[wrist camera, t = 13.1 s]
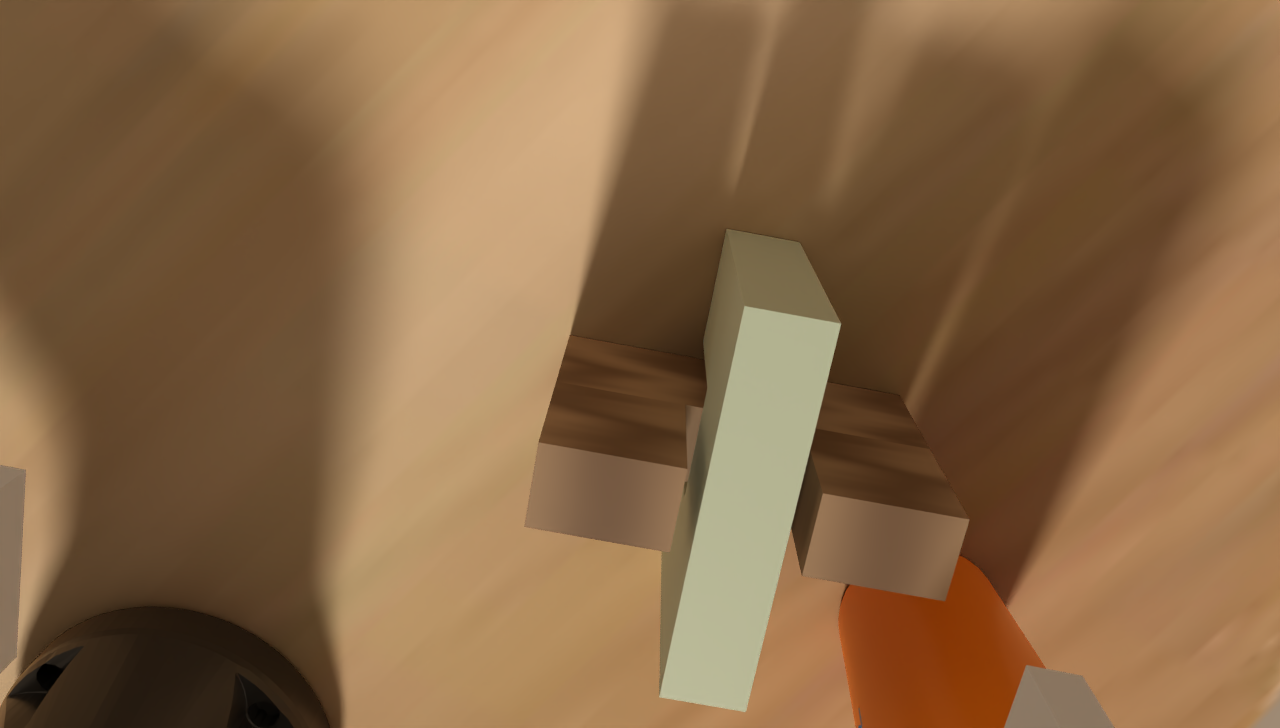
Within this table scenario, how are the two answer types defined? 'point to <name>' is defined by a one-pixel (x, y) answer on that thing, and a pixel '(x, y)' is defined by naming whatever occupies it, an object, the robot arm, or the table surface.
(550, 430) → the brown wooden slotted board
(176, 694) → the robot arm
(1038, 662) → the shaker bottle
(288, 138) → the table surface
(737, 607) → the slot plate
